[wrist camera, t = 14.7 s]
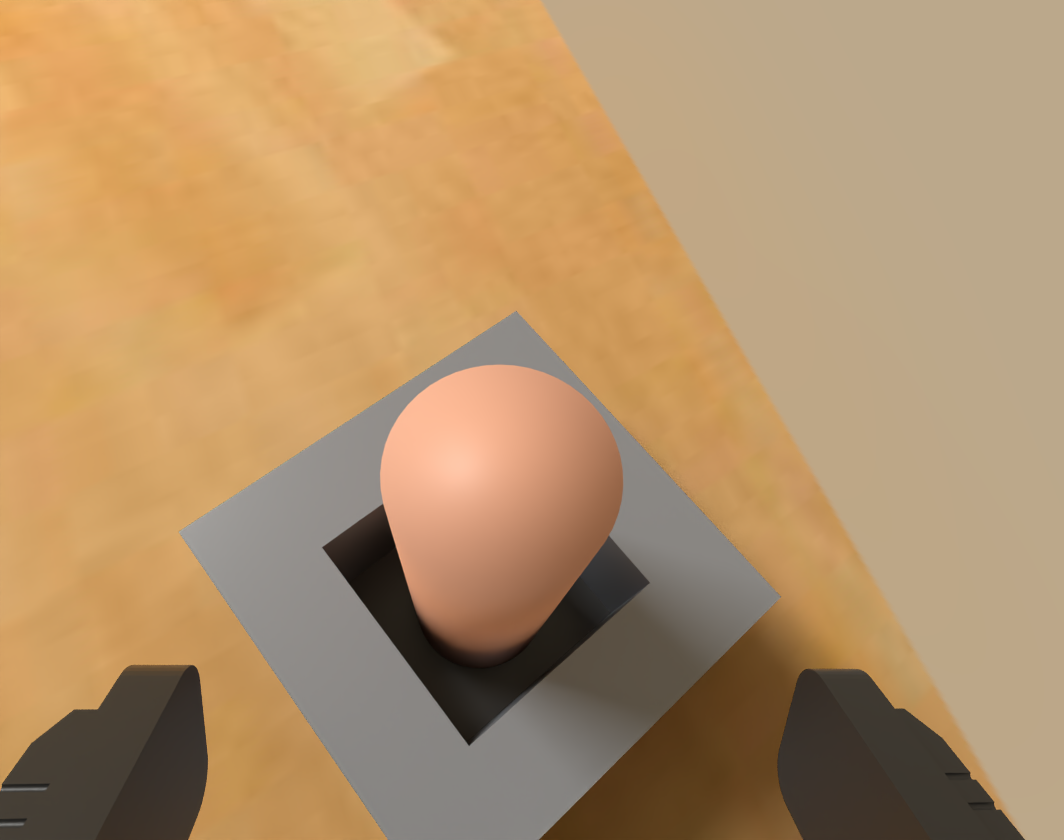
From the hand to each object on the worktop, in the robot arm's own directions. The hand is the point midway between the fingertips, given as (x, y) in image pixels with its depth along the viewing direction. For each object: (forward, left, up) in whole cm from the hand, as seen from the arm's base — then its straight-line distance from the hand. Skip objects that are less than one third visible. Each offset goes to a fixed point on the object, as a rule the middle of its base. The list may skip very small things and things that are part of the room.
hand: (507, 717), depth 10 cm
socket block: (+3, +3, -13) cm, 14 cm away
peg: (+3, +3, -13) cm, 13 cm away
